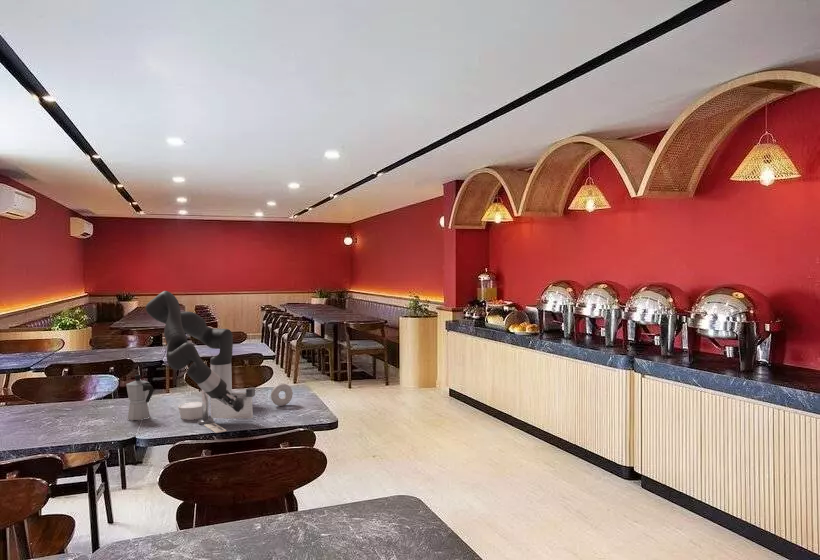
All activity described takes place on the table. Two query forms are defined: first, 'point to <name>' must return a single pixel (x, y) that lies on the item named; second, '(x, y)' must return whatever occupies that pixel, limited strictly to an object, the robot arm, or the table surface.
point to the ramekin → (191, 410)
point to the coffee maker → (139, 398)
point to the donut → (277, 390)
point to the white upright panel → (226, 411)
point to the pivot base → (205, 421)
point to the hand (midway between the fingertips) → (239, 409)
